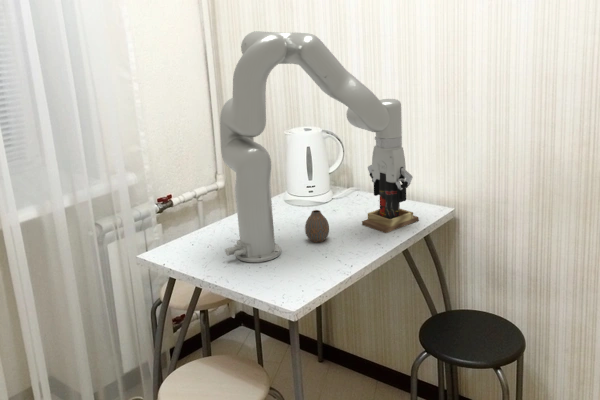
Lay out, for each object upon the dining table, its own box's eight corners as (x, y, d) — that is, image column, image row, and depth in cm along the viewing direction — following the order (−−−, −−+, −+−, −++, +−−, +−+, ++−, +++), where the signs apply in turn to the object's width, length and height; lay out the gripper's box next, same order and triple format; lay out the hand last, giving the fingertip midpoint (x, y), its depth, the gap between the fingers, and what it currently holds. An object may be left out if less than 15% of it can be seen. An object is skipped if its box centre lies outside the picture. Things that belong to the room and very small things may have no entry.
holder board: (385, 233, 192) (385, 222, 191) (362, 224, 199) (361, 214, 198) (418, 220, 200) (418, 210, 199) (394, 213, 207) (394, 203, 206)
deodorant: (400, 222, 196) (400, 173, 191) (380, 223, 196) (380, 174, 192) (398, 215, 202) (398, 168, 197) (378, 216, 202) (378, 169, 197)
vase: (327, 244, 186) (326, 215, 183) (303, 244, 188) (301, 215, 185) (331, 235, 193) (329, 207, 190) (308, 235, 194) (306, 207, 191)
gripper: (358, 140, 196) (360, 195, 202) (401, 149, 183) (402, 207, 188) (377, 135, 200) (378, 189, 206) (420, 144, 187) (420, 201, 193)
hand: (389, 198), depth 197 cm, fingers open, 9 cm apart
